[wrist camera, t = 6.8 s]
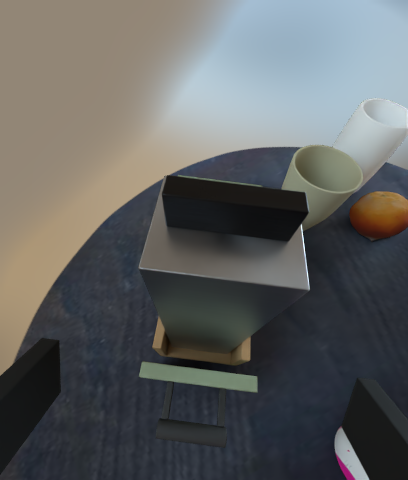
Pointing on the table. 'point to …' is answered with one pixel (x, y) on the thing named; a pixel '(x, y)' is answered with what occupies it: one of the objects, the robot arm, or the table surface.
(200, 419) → the table surface
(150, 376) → the drawer
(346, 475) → the stress ball
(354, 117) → the cup
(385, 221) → the fruit
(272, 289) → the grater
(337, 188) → the mug
